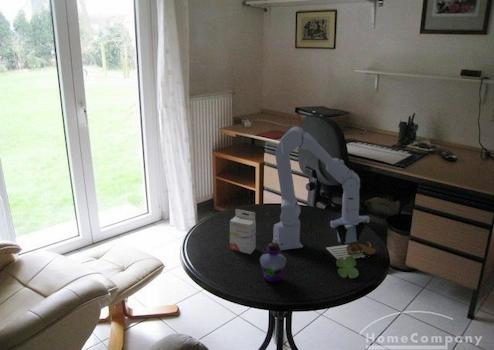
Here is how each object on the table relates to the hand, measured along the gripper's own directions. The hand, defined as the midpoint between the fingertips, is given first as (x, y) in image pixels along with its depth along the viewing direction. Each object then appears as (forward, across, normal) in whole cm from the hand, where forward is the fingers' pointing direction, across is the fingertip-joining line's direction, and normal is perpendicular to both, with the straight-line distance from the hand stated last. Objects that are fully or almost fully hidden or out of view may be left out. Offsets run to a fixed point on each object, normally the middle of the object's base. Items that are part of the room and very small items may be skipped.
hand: (349, 242), depth 148 cm
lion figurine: (+2, +6, +1) cm, 6 cm away
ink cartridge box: (+2, -37, +12) cm, 39 cm away
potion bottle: (+3, -33, -10) cm, 34 cm away
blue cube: (0, 0, +1) cm, 1 cm away
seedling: (+4, -7, -10) cm, 13 cm away
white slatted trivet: (+4, -1, 0) cm, 4 cm away
